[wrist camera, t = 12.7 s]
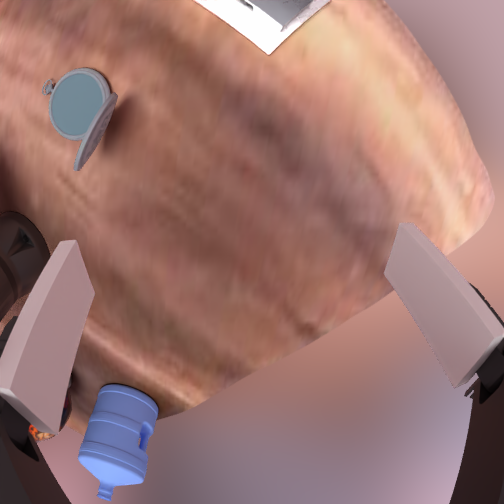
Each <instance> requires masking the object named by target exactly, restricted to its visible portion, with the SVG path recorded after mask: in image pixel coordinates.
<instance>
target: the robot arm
mask: <svg viewBox="0 0 504 504" xmlns="http://www.w3.org/2000/svg"><path fill="white" fill-rule="evenodd" d="M384 275H385V276H386V278H387V279H388V281H389V282H390V284H391V285H392V287H393V288H394V290H395V291H396V292H397V294H398V296H399V297H400V299H401V300H402V302H403V303H404V305H405V306H406V308H407V309H408V311H409V312H410V314H411V315H412V317H413V319H414V320H415V322H416V324H417V325H418V327H419V328H420V330H421V332H422V333H423V335H424V337H425V338H426V340H427V342H428V343H429V345H430V347H431V348H432V350H433V352H434V353H435V355H436V357H437V359H438V361H439V362H440V364H441V366H442V367H443V369H444V371H445V373H446V375H447V376H448V378H449V380H450V382H451V384H452V386H453V388H456V387H458V386H461V385H463V384H465V383H467V382H468V381H469V380H470V379H471V378H472V377H473V375H474V374H475V373H477V375H478V377H479V378H478V379H477V380H476V381H475V382H474V383H473V384H472V385H471V387H470V388H469V389H468V390H467V391H466V393H465V395H464V396H466V397H467V395H469V394H470V393H471V392H472V390H474V393H473V394H472V395H471V396H470V398H472V399H473V403H472V410H471V417H470V423H469V429H468V434H467V440H466V445H465V449H464V454H463V458H462V462H461V466H460V470H459V473H458V477H457V481H456V484H455V487H454V491H453V494H452V497H451V500H450V503H449V504H504V322H503V321H502V320H501V318H500V317H499V316H498V314H497V313H496V312H495V310H494V309H493V308H492V307H490V304H489V303H488V302H487V300H485V298H484V297H483V295H482V294H481V293H480V292H479V291H478V289H477V288H475V287H474V286H473V285H471V284H470V283H469V282H467V280H466V279H465V278H464V277H463V276H462V275H461V273H460V272H459V271H458V270H457V269H456V268H455V267H454V266H453V264H452V263H451V262H450V261H449V260H448V259H447V258H446V257H445V256H444V254H443V253H442V252H441V251H440V250H439V249H438V248H437V247H436V246H435V245H434V244H433V243H432V242H431V241H430V240H429V239H428V237H427V236H426V235H425V234H424V233H423V232H422V231H421V230H420V229H419V228H418V227H417V226H416V225H415V224H414V223H399V226H398V230H397V233H396V237H395V240H394V243H393V247H392V250H391V253H390V256H389V259H388V262H387V265H386V268H385V271H384ZM30 292H31V293H30ZM28 293H30V295H29V297H28V299H27V301H26V303H25V305H24V307H23V309H22V311H21V313H20V315H19V316H14V317H13V318H12V319H11V320H10V321H9V323H8V324H7V325H6V326H5V328H4V330H3V332H2V334H1V336H0V504H71V502H70V501H69V499H68V498H67V497H66V495H65V493H64V492H63V490H62V489H61V487H60V485H59V484H58V482H57V480H56V478H55V477H54V475H53V473H52V472H51V470H50V468H49V466H48V464H47V463H46V461H45V459H44V457H43V455H42V453H41V452H40V449H39V447H38V445H37V443H36V441H35V439H34V437H33V435H32V434H31V433H30V431H29V427H30V424H31V425H33V426H34V427H35V428H36V429H37V430H39V431H40V432H45V433H50V434H55V435H58V433H59V427H60V422H61V416H62V411H63V406H64V401H65V397H66V392H67V388H68V384H69V379H70V375H71V371H72V367H73V363H74V360H75V356H76V352H77V349H78V345H79V342H80V338H81V335H82V332H83V328H84V325H85V322H86V319H87V316H88V313H89V310H90V307H91V304H92V301H93V298H94V295H95V292H94V289H93V287H92V284H91V281H90V279H89V276H88V273H87V270H86V267H85V264H84V262H83V259H82V256H81V253H80V249H79V246H78V243H77V240H68V241H60V243H59V244H58V246H57V248H56V249H55V251H54V252H53V254H52V256H51V257H50V255H49V252H48V248H47V246H46V243H45V241H44V239H43V237H42V236H41V234H40V232H39V231H38V230H37V228H36V227H35V226H34V225H33V224H32V223H31V222H30V221H29V220H28V219H27V218H25V217H24V216H22V215H21V214H18V213H16V212H5V213H2V214H1V215H0V322H1V320H2V319H3V317H4V316H5V315H6V313H7V312H8V311H9V309H10V308H11V307H12V305H13V304H14V303H15V302H16V300H17V299H19V298H21V297H22V296H24V295H26V294H28Z"/></svg>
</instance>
